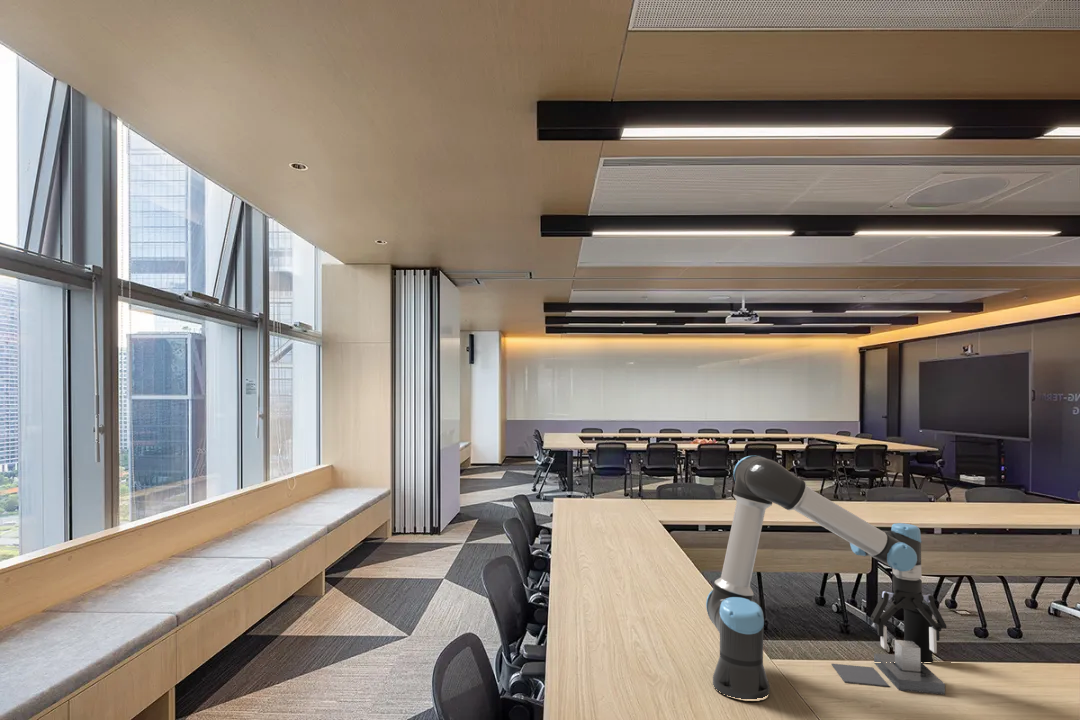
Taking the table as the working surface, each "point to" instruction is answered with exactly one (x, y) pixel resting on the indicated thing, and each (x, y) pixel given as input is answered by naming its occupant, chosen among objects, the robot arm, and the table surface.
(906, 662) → the rectangular peg block
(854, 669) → the rubber pad
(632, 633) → the table surface
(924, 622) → the aerosol can
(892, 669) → the square hole plate
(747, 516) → the robot arm
